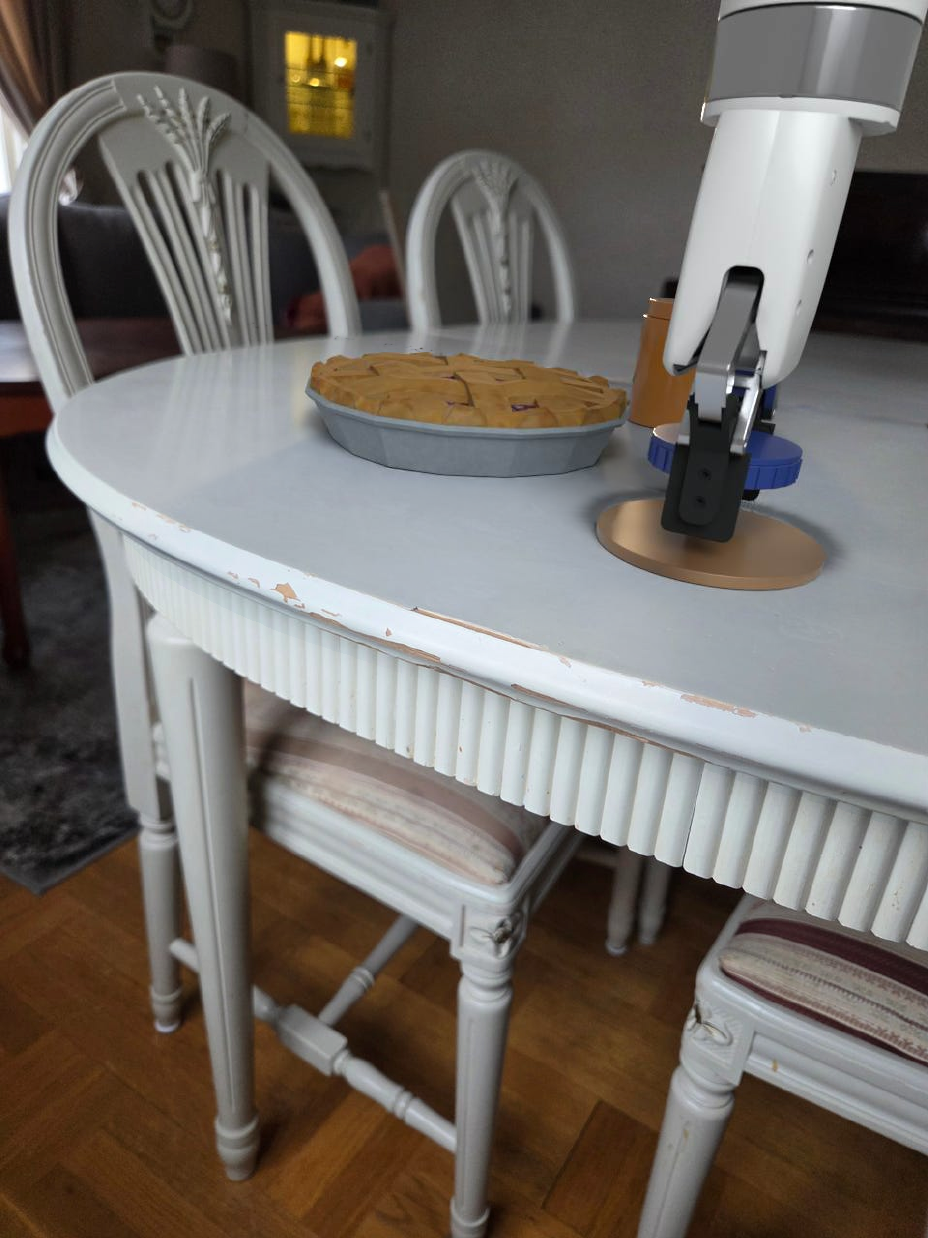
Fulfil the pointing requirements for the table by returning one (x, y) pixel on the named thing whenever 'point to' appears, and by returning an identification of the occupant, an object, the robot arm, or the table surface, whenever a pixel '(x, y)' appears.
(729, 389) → the robot arm
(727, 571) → the coaster
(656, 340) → the jar
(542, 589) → the table surface
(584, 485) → the table surface
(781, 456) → the lid
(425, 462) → the pie
